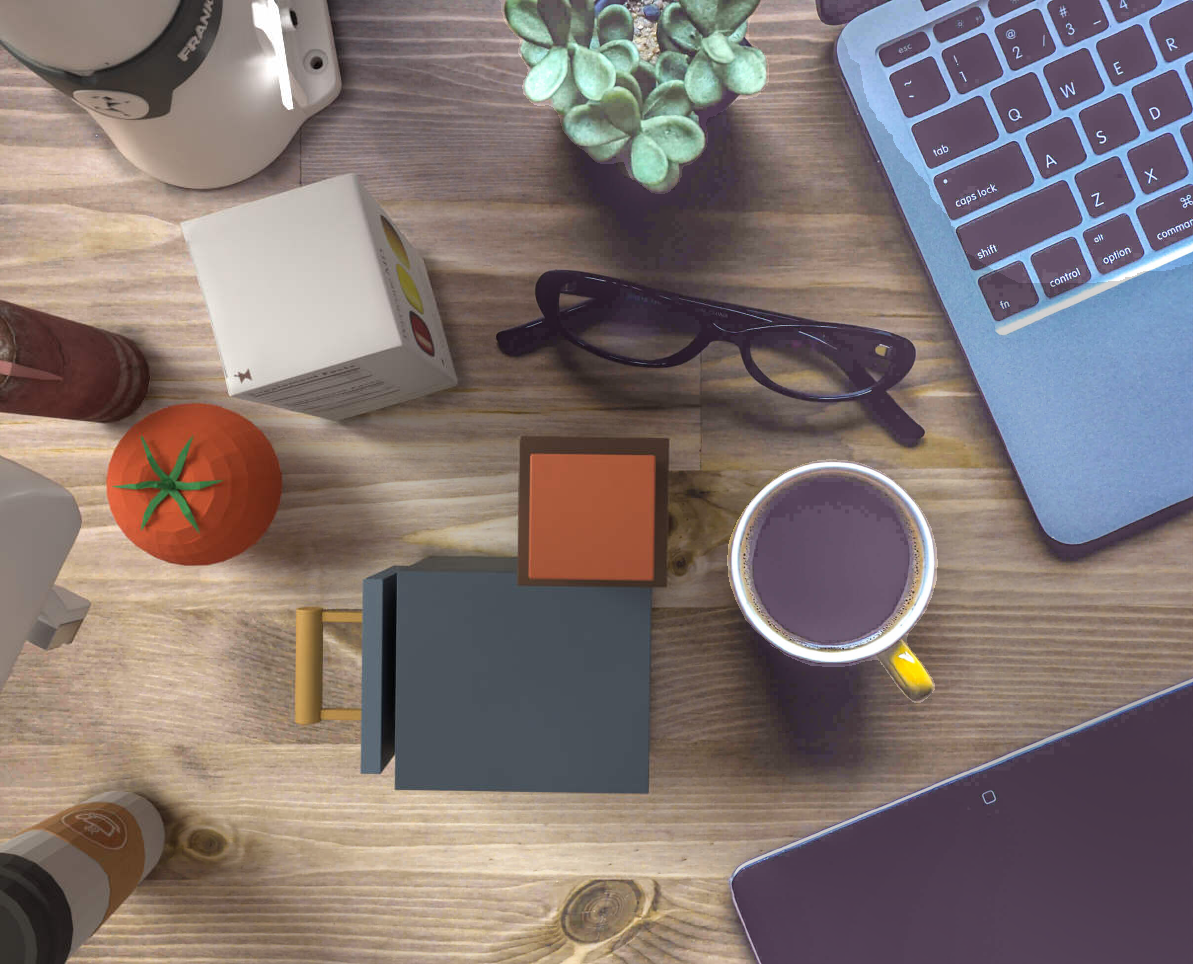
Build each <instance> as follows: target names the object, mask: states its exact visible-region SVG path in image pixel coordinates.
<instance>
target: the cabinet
mask: <svg viewBox="0 0 1193 964" xmlns="http://www.w3.org/2000/svg"><path fill="white" fill-rule="evenodd" d="M517 557H518V556H480V555H479V556H477V555H475V556H474V555H473V556H470V555H469V556H468V555H429V556H427V557H424V558H422V559H420V560H418V561H416V562H414V563H412V564H410V565H407V566H408V567H406V568H404V569H401V570H399V571H397V629H396V715H395V755H394V790H395V791H431V792H432V791H433V792H434V791H435V792H436V791H437V792H439V791H440V792H443V791H444V792H496V793H497V792H500V793H558V794H559V793H562V794H563V793H565V794H566V793H567V794H569V793H570V794H623V795H624V794H625V795H626V794H627V795H628V794H631V795H634V794H635V795H648V794H649V793H650V743H651V741H650V738H651V737H650V736H651V735H650V734H651V680H652V679H651V677H652V675H651V672H652V670H651V668H652V665H651V664H652V608H653V607H652V603H653V600H652V599H653V598H652V597H653V588H637V587H567V586H518V585H517Z"/></svg>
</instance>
